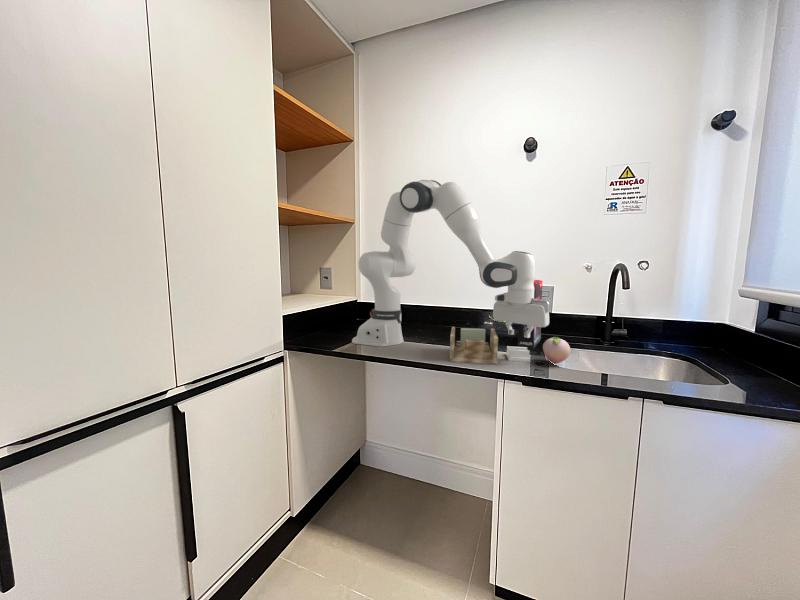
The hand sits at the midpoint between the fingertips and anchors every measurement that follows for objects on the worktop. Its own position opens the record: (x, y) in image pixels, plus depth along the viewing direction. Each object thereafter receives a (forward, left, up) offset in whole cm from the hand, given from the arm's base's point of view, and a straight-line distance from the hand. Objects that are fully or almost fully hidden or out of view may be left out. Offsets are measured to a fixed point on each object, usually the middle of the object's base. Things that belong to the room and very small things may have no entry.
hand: (518, 335), depth 118 cm
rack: (-16, -1, -8) cm, 18 cm away
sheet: (-16, +4, -7) cm, 18 cm away
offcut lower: (-16, -6, -7) cm, 19 cm away
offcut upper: (-16, -6, -4) cm, 17 cm away
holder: (0, 0, -8) cm, 8 cm away
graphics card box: (+8, +23, -9) cm, 26 cm away
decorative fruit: (+12, -4, -9) cm, 15 cm away
